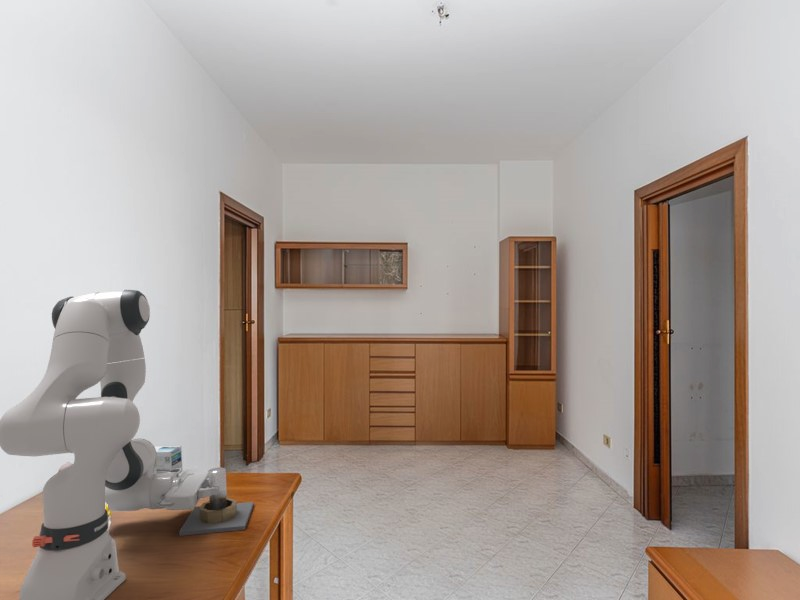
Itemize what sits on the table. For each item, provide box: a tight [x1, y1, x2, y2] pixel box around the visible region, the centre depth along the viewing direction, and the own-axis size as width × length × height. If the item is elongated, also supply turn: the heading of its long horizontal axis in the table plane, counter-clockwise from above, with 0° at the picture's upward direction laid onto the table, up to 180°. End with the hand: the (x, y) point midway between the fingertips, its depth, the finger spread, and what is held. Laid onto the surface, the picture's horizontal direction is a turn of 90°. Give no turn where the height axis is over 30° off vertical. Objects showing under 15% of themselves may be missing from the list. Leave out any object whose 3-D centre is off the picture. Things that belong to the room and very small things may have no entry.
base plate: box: [178, 501, 255, 537], centre depth 142 cm, size 16×16×1 cm
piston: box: [208, 466, 228, 510], centre depth 142 cm, size 4×4×10 cm
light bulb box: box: [153, 445, 183, 474], centre depth 175 cm, size 11×7×11 cm, turn 84°
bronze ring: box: [199, 497, 238, 524], centre depth 142 cm, size 9×9×3 cm
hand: (221, 486), depth 142 cm, fingers closed on piston, 4 cm apart
